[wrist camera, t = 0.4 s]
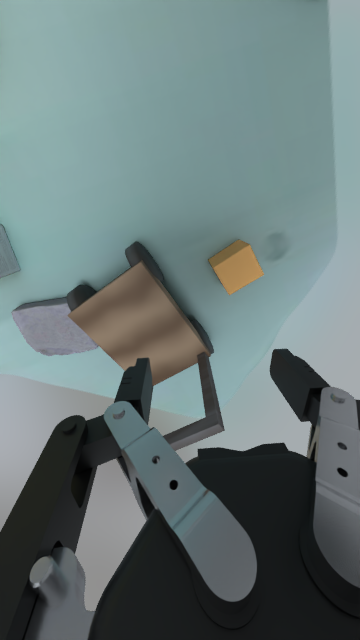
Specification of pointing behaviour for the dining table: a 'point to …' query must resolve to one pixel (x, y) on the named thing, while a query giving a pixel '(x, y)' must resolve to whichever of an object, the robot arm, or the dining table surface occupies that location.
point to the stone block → (51, 328)
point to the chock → (236, 266)
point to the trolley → (149, 334)
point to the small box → (6, 256)
